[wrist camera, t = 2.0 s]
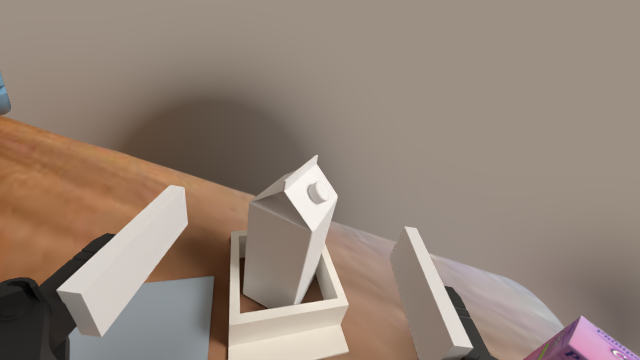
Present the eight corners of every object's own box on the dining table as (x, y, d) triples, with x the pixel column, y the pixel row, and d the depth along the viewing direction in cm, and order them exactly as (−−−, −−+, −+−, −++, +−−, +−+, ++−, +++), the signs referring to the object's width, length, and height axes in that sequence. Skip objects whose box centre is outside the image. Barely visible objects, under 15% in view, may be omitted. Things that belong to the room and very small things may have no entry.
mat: (91, 291, 28) (90, 288, 28) (214, 277, 32) (214, 275, 32) (5, 453, 17) (3, 451, 17) (204, 401, 22) (203, 399, 22)
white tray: (231, 238, 38) (231, 216, 36) (308, 234, 43) (313, 214, 41) (227, 382, 23) (228, 360, 21) (348, 352, 28) (359, 331, 26)
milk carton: (242, 294, 31) (250, 166, 22) (272, 257, 37) (289, 144, 27) (290, 322, 29) (322, 196, 20) (313, 279, 35) (347, 166, 26)
